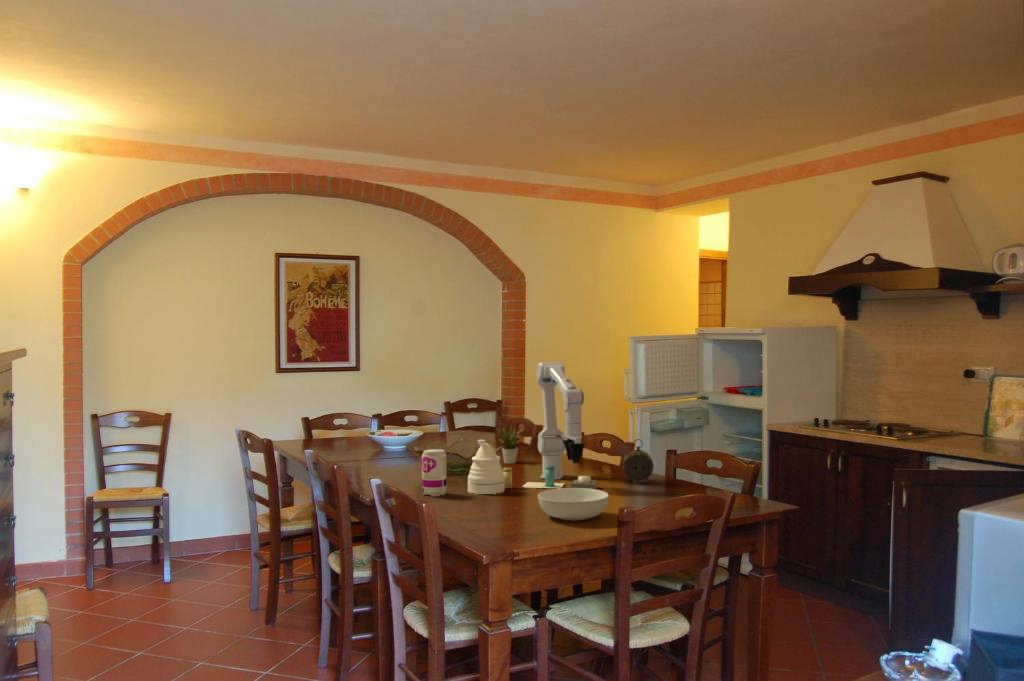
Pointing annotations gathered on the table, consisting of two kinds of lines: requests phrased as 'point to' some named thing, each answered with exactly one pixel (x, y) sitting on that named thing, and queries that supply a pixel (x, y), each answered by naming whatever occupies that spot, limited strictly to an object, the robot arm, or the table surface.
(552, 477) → the teal marker
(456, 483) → the table surface
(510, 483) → the ball
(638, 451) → the alarm clock
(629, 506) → the table surface
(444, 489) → the supplement can
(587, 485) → the button box
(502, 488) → the honey pot
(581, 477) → the button
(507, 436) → the house plant
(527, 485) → the paper sheet
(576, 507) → the serving bowl
